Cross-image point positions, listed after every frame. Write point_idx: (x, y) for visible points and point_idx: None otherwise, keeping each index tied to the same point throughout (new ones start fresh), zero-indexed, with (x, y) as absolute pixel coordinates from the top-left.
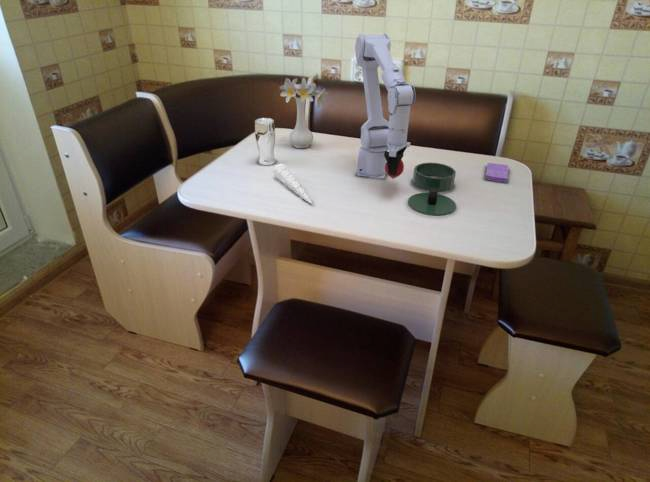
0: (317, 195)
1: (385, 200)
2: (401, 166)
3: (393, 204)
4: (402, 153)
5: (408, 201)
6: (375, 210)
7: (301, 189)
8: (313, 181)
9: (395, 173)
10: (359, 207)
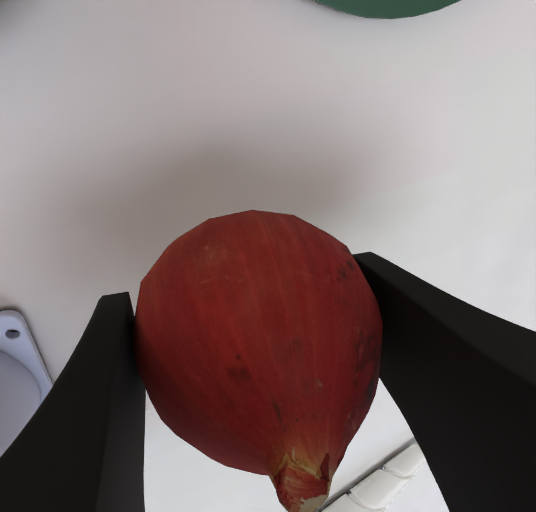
0: (365, 440)
1: (362, 189)
2: (335, 271)
3: (411, 124)
4: (110, 458)
5: (424, 11)
6: (488, 202)
7: (394, 494)
8: (242, 506)
9: (386, 264)
10: (457, 280)
